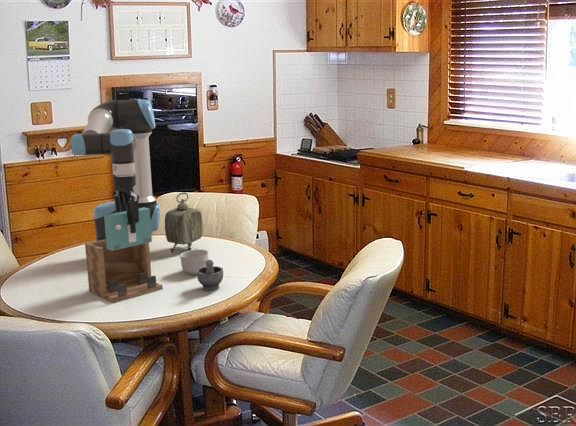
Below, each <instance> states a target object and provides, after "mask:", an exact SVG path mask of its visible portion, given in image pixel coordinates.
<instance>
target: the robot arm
mask: <svg viewBox="0 0 576 426" xmlns="http://www.w3.org/2000/svg"><path fill="white" fill-rule="evenodd" d="M155 121H156V119H155V114H154V109H153V106H152V103H151V102H150V101H149V100H148V99H139V98H138V99H122V100H121V99H118V100H108V101H104V102H102V103H101V104H99V105H97V106H95V107H94V108H93V109H92V110H91V111H90V112H89V114H88V117H87V124H86V126H85V128H84V129H83V131H82V133H75V134H73V135H72V136H71V139H70V140H71V141H70V144H71V145H70V147H71V152H72V154H73V155H75V156H83V157H85V156H100V155H101V156H102V155H111V163H112V167H111V169H112V174H113V179H112V180H113V187H115V188H116V191H113V192H112V195H113V198H114V200H113V201H112V200H111V201H107V202H104V203H100V204H98V205H97V206H95V208H94V209H93V210H94V211H93V219H94V229H95V239H96V241H100V240H104V239H106V233H105V221H104V215H108V214H113V213H118V212H123V211H127V217H128V223H127V228H128V241H129V243H131V242H136V226H135V224H136V223H138V222H139V208H144V207H145V208H148V209H150V222H151V233H152V232H156V231H158V229H159V227H160V220H161V203H159V202H157V198H156V197H155V196H154V195H153V185H152V169H151V156H150V154H151V153H150V141H149V138H150V136H151V134H152V133H153V130H154V129H155V128H156V122H155ZM110 130H111V131H110ZM108 131H110V132H108Z"/></svg>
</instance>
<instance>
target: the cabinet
mask: <svg viewBox="0 0 576 426" xmlns="http://www.w3.org/2000/svg"><path fill="white" fill-rule="evenodd" d="M84 246H85V247H84V249H85V256H86V257H85V258H86V269H87V271H86V272H87V280H88V290H89V291H88V292H89V293H91V294H93V295H95V296H97V297H100V298H102V299H104V300H106V301H109V302H111V303H112V304H115V303H118V302H122V301H125V300H129V299H133V298H136V297H140V296H143V295H147V294H149V293H154V292H156V291H160V290H163V289H164V288H163V284H160V283H158V282H157V276H156V275H152V268H151V256H150V254H151V253H150V252H151V251H150V242H148V243H144V244H140V245H135V246H131V247H127V248H122V249H118V250H114V251H111V250H108V249H107V245H106V239H104V240H100V241H91V242H87V243H84Z"/></svg>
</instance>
